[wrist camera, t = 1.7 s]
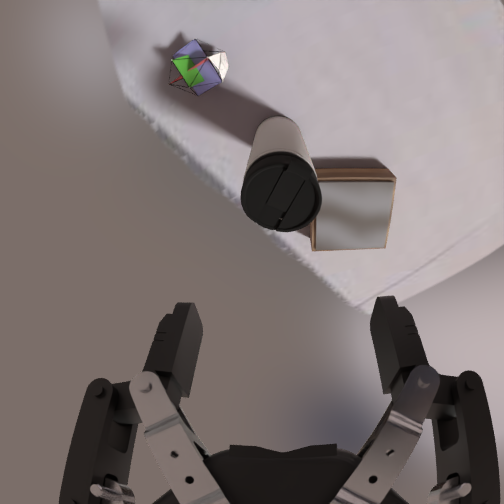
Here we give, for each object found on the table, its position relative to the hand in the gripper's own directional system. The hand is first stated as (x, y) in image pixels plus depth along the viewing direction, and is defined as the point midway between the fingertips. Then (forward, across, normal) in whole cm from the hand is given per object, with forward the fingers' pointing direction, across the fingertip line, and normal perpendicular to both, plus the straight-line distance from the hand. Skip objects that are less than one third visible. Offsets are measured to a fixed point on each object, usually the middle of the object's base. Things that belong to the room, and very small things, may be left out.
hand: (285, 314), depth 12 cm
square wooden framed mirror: (+30, -10, +11) cm, 34 cm away
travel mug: (+31, 0, 0) cm, 31 cm away
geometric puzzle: (+31, +9, -11) cm, 34 cm away
